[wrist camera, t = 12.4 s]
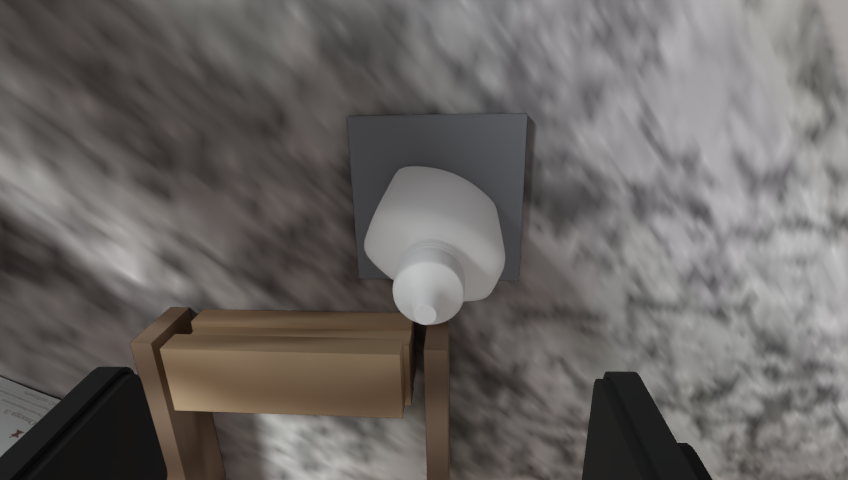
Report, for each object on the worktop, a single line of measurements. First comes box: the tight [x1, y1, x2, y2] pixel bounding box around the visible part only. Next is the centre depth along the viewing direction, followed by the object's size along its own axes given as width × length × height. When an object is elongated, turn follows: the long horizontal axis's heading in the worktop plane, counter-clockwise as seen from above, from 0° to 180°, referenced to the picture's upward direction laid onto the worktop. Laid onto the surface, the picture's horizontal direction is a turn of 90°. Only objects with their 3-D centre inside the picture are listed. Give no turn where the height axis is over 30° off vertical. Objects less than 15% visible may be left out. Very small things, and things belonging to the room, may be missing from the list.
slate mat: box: [347, 113, 527, 281], centre depth 27 cm, size 9×9×1 cm
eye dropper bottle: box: [364, 166, 505, 325], centre depth 21 cm, size 4×6×12 cm
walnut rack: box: [130, 307, 450, 480], centre depth 31 cm, size 17×17×4 cm
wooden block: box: [160, 309, 416, 418], centre depth 29 cm, size 4×13×4 cm, turn 91°
